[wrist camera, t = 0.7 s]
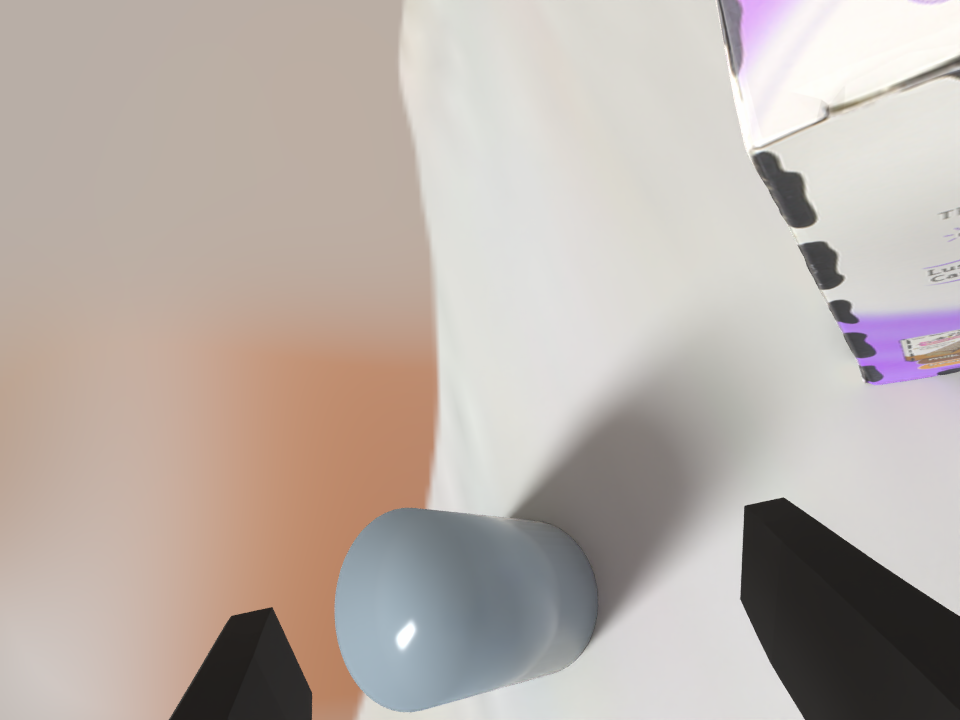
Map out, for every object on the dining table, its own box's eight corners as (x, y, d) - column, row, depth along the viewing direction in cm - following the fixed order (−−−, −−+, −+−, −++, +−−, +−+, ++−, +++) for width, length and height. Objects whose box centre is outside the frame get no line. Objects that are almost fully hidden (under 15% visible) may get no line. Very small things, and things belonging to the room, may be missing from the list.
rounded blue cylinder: (627, 625, 24) (515, 647, 18) (512, 704, 26) (373, 749, 20) (547, 492, 28) (428, 471, 21) (450, 570, 30) (314, 572, 23)
